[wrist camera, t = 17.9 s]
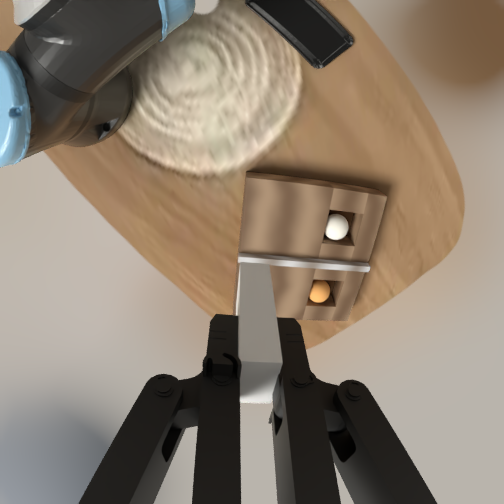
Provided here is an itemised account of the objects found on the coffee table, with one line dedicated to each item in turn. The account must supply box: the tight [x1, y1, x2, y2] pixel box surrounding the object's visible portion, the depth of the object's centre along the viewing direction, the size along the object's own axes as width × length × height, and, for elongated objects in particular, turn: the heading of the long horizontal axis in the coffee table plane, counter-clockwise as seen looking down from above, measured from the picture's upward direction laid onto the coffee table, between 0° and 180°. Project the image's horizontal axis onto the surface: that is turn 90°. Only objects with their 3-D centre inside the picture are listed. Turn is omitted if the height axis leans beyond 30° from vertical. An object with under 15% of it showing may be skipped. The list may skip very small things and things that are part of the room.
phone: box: [246, 0, 353, 69], centre depth 31 cm, size 8×1×15 cm
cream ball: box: [324, 214, 349, 240], centre depth 44 cm, size 4×4×4 cm
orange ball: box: [309, 279, 330, 302], centre depth 50 cm, size 4×4×4 cm
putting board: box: [233, 172, 387, 321], centre depth 47 cm, size 21×24×5 cm
